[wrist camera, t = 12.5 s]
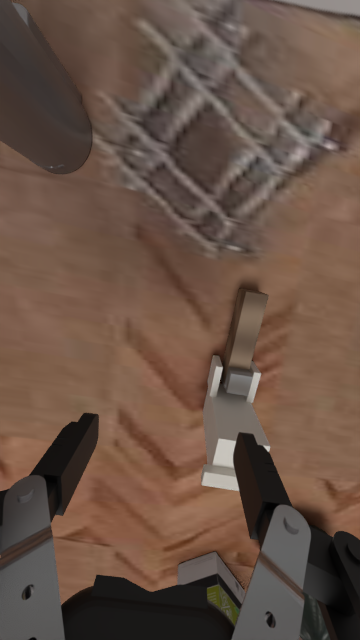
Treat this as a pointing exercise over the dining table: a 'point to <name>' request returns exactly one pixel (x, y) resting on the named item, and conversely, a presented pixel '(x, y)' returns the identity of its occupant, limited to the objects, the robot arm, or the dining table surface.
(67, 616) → the robot arm
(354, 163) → the dining table surface
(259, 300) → the rail
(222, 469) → the white forked bracket
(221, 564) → the tea box
